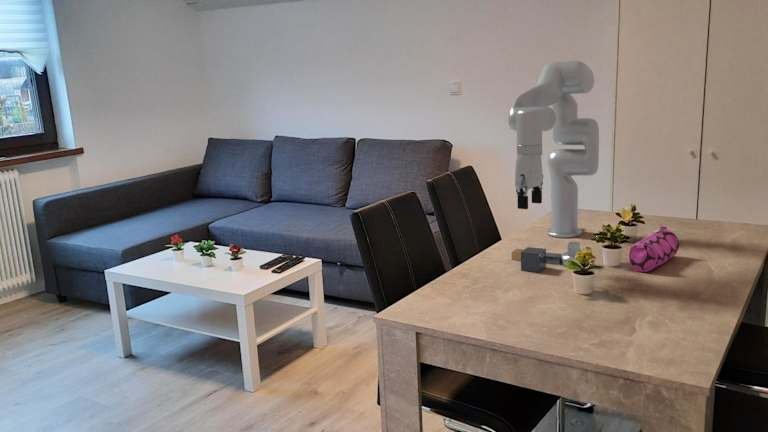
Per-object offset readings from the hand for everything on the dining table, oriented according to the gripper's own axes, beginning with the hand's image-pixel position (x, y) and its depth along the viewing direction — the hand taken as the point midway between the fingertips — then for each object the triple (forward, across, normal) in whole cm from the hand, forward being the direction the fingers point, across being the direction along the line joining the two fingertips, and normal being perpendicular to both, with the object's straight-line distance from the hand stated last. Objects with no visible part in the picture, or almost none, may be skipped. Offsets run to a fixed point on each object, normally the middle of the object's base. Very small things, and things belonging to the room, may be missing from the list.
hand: (529, 205), depth 202 cm
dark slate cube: (+20, -1, 0) cm, 20 cm away
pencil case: (+20, -22, +31) cm, 43 cm away
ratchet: (+20, -10, +2) cm, 23 cm away
